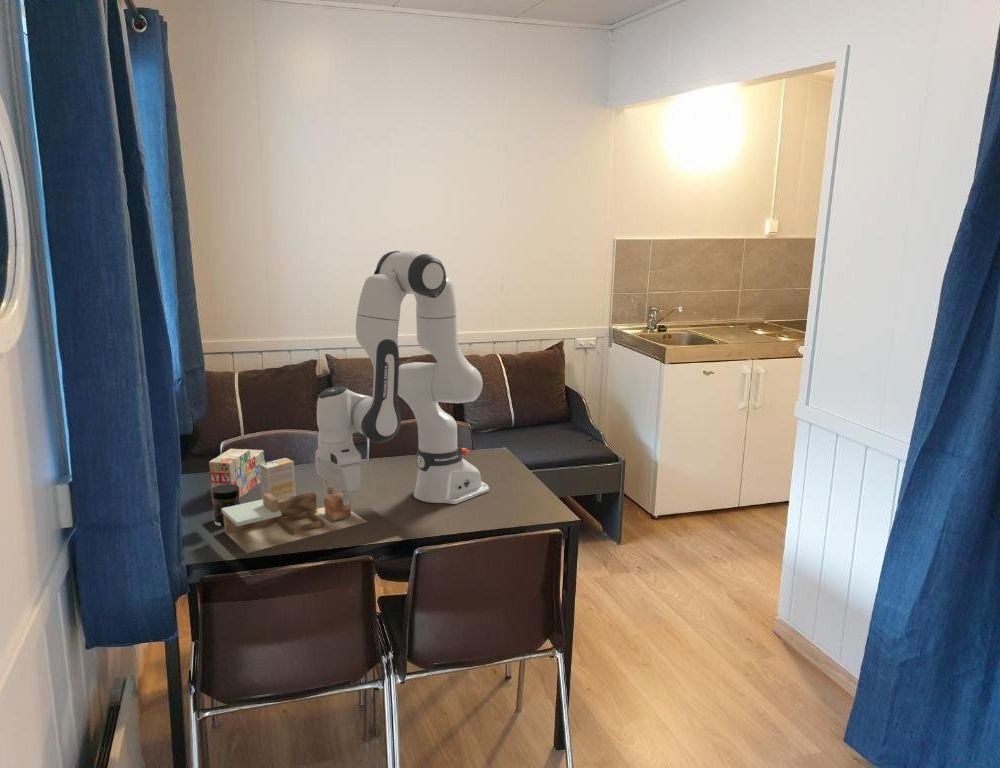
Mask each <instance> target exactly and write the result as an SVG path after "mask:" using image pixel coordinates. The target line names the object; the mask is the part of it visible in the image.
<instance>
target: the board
mask: <svg viewBox="0 0 1000 768" xmlns="http://www.w3.org/2000/svg"><path fill="white" fill-rule="evenodd" d="M278 503H279V511H281V516H279V517H275V518H270V519H266V520H262V521H258V522H253V523H249V524H245V525H241V526H236V525H235V524H234V523H233V522H232V521H231V520H230V519H229V518H228V517H226V516H225V515H224V514H223V517H224V526H223V528H224V530H223V532H224V533H225V534H226V535H227V536H228V537H229V538H230V539H231V540H232V541H234V542H235V543H236V544H237V545H238V546H239V547H240V548H241V549H242V550H243V551H244V552H245V553H246V554H250V553H253V552H257V551H261V550H264V549H267V548H268V549H269V548H272V547H275V546H279V545H283V544H284V545H285V544H288V543H290V542H295V541H299V540H303V539H307V538H310V537H314V536H318V535H322V534H326V533H329V532H334V531H338V530H341V529H345V528H349V527H353V526H354V527H355V526H357V525H360V524H365V523H368V521H367V520H365V518H363V517H361V516H360V515H358V514H357V513H355V512H354V511H352V510H351V516H350V517H346V518H342V519H338V520H332V519H331V518H329V517H328V516H327V515H325V506H324V507H318V508H317V494H316V493H314V491H313V492H308V493H304V494H298V495H296V496H294V497H289V498H285V499H280V500H278Z"/></svg>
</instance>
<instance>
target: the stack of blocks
mask: <svg viewBox="0 0 1000 768" xmlns="http://www.w3.org/2000/svg"><path fill="white" fill-rule="evenodd" d="M262 463H266V460H265V451H264V450H263V449H249V448H248V449H247V448H243V449H241V448H229V449H228V450H226V451H224V452H222V453H221V454H219V455H218V456H217V457H215V458H213V459H211V460H210V461H209V462H208V464H209V480H210V492H211V493H210V494H211V497H212V488H214V487H215V486H218V485H223V484H234V485H238V486H239V498H240V497H241V496H242V497H243V496H245V495H246V494H248V492H250V491H252V489H254V488H255V487H256V486H258V485H259V484H261V481H260V467H259V464H262ZM253 487H254V488H253ZM249 490H250V491H249ZM244 494H245V495H244ZM242 497H241V498H242ZM241 498H240V499H241ZM211 502H212V503H213V501H212V500H211Z"/></svg>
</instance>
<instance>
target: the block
mask: <svg viewBox="0 0 1000 768" xmlns="http://www.w3.org/2000/svg"><path fill="white" fill-rule="evenodd" d="M341 498H343V493H342V492H339V493H336V494H335V493H334V494H331V495H327V496H324V507H325V515H327V516H328V517H329V518H331V519H332V520H338V519H342V518H346V517H350V516H351V511H352V507H351V506H352V505H351V504H352V503H351V499H350V504H349V505H346V506H344V505H343V504H342V503H341Z"/></svg>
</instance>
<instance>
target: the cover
mask: <svg viewBox="0 0 1000 768" xmlns="http://www.w3.org/2000/svg"><path fill="white" fill-rule="evenodd" d="M221 510H222V513H223V514H224V515H225V516H226V517H228V518H229V519H230V520H231V521H232V522H233V523H234V524H235V525H236V526H241V525H245V524H249V523H253V522H258V521H262V520H266V519H270V518H275V517H279V516H281V511H279V503H278V499H277V498H276V497H274V496H273V495H271V494H270V493H265V494H263V499H262V498H261V499H258V500H254V501H253V500H252V501H248V502H244V503H240V504H239V505H235V506H230V507H225V508H221Z"/></svg>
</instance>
